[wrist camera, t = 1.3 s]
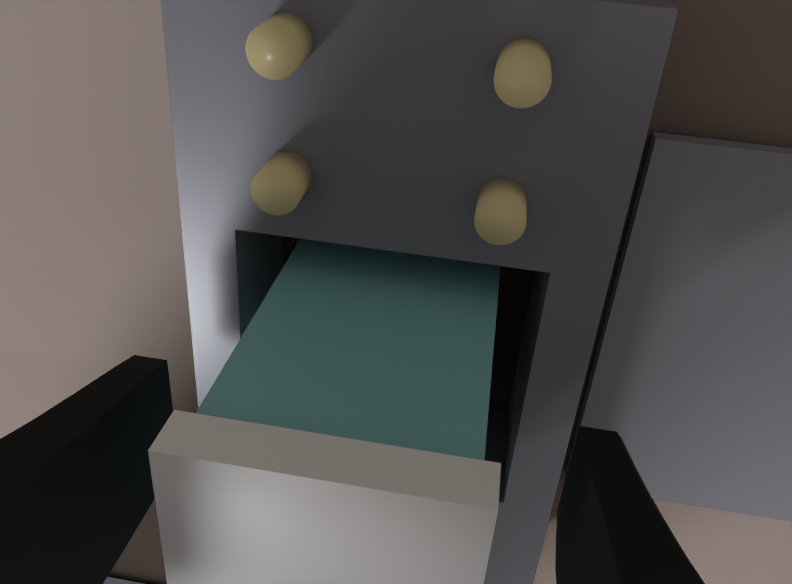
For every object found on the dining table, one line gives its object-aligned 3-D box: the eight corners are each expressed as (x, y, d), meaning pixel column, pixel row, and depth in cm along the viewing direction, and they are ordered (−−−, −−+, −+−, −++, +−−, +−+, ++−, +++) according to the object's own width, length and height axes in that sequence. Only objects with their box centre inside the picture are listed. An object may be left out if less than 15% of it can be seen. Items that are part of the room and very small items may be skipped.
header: (520, 540, 20) (518, 670, 17) (253, 493, 21) (202, 609, 18) (650, -24, 13) (689, 19, 10) (227, -64, 14) (132, -37, 10)
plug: (486, 386, 18) (457, 714, 11) (309, 359, 18) (177, 659, 12) (514, 223, 16) (498, 510, 9) (310, 196, 16) (148, 450, 9)
